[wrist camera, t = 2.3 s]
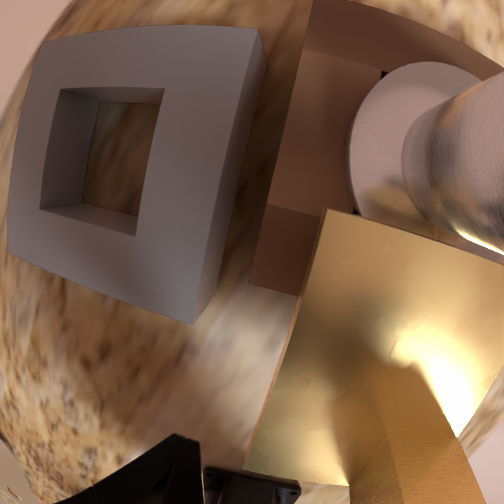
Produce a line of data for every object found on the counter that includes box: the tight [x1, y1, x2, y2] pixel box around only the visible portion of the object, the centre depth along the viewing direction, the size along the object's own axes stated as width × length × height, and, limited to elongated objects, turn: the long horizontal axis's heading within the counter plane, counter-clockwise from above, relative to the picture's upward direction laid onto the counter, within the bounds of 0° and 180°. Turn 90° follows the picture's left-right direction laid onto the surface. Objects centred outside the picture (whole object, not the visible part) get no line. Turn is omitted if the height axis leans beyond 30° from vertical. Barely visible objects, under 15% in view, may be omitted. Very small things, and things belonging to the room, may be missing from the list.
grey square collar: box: [7, 25, 268, 325], centre depth 11 cm, size 10×10×3 cm
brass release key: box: [242, 206, 504, 504], centre depth 5 cm, size 9×7×6 cm
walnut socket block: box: [248, 0, 504, 296], centre depth 9 cm, size 10×10×3 cm
